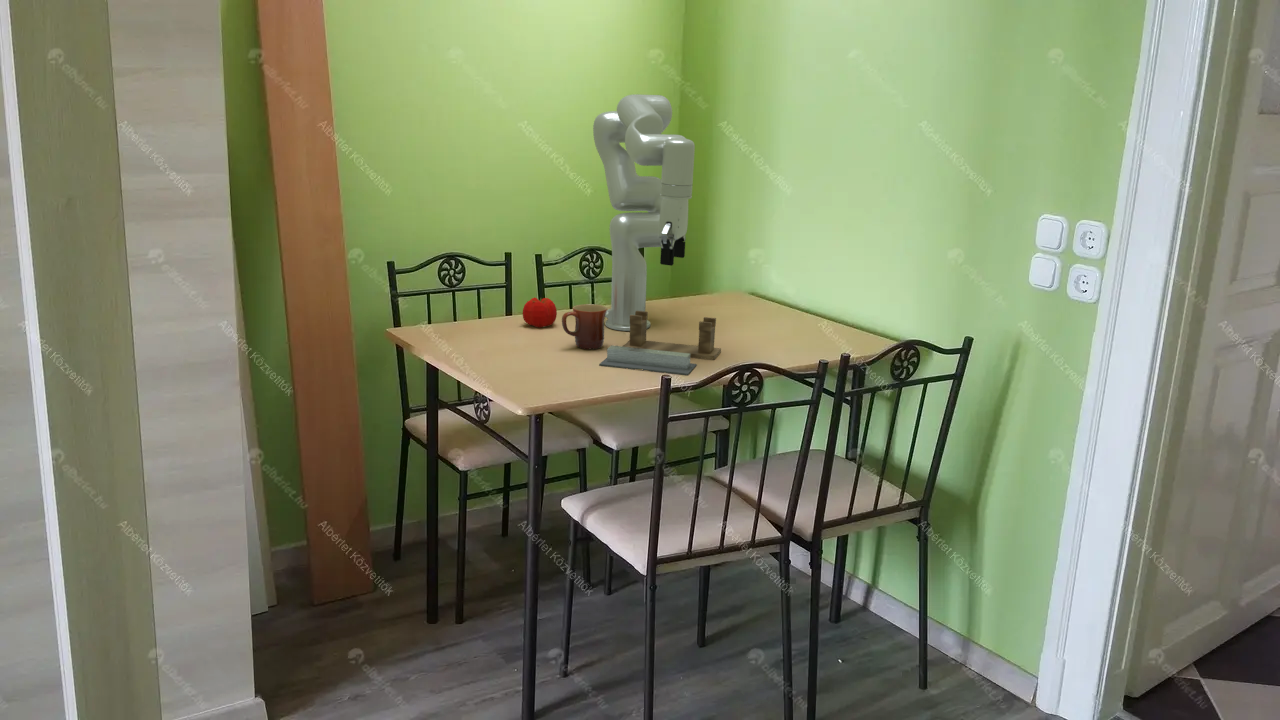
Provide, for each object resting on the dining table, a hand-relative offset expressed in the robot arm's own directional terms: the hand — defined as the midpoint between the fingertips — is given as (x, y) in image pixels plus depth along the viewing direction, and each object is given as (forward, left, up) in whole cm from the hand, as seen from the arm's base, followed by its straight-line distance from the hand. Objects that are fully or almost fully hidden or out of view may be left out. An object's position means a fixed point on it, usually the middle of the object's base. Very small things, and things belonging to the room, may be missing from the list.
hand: (672, 260), depth 246 cm
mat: (-2, -11, -24) cm, 27 cm away
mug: (-22, -1, -24) cm, 33 cm away
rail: (-2, -11, -24) cm, 26 cm away
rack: (0, +4, -24) cm, 24 cm away
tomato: (-41, +16, -24) cm, 50 cm away
